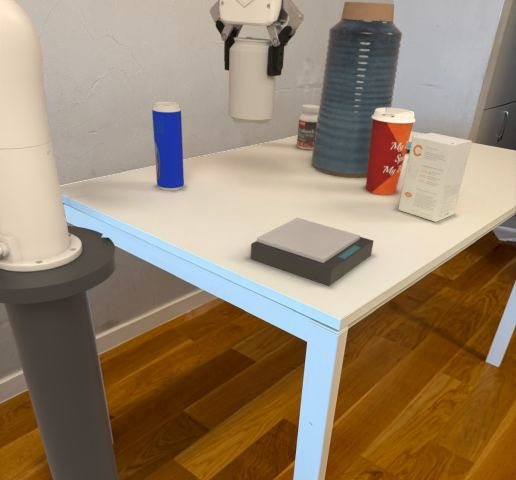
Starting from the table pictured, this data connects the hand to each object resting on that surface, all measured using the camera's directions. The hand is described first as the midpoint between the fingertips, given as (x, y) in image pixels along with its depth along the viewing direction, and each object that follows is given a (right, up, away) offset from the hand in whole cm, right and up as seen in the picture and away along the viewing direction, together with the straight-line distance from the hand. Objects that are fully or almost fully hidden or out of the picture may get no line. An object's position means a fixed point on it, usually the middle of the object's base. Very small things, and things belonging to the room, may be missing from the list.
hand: (252, 71), depth 80 cm
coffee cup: (+26, -12, +23) cm, 37 cm away
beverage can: (-16, -13, +18) cm, 28 cm away
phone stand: (+37, +8, +53) cm, 64 cm away
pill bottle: (+14, +8, +51) cm, 54 cm away
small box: (+32, -19, +13) cm, 39 cm away
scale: (+9, -31, -6) cm, 32 cm away
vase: (+21, -3, +36) cm, 42 cm away
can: (0, -6, +4) cm, 7 cm away
